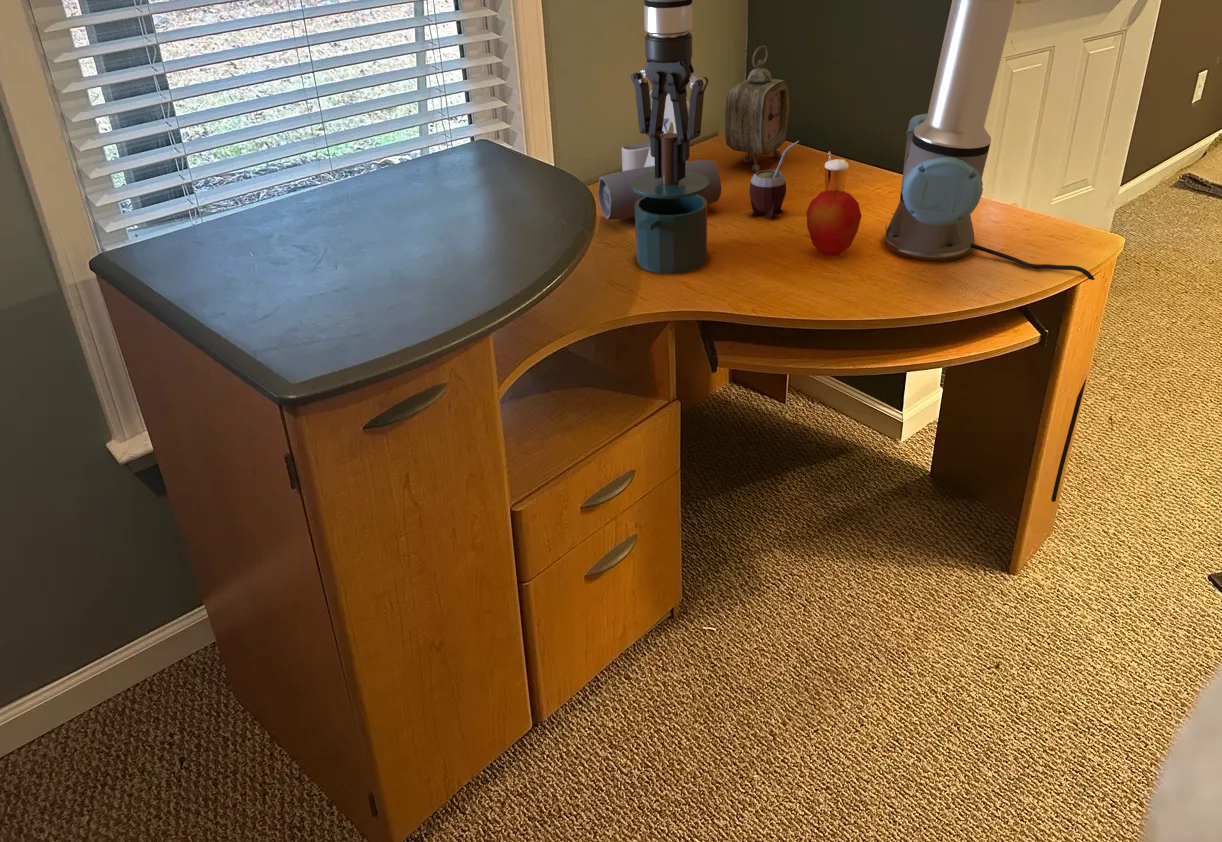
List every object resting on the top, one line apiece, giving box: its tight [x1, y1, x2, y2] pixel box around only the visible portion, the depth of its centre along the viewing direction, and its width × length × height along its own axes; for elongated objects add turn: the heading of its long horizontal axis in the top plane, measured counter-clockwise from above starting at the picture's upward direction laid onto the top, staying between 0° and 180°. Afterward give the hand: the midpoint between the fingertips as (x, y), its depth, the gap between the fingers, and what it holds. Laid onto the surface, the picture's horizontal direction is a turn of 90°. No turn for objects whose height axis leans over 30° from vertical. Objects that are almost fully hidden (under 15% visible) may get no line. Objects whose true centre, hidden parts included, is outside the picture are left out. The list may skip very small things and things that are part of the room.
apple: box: [805, 189, 862, 257], centre depth 172 cm, size 9×9×12 cm
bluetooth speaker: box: [597, 159, 722, 220], centre depth 192 cm, size 23×9×10 cm, turn 108°
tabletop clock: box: [724, 45, 791, 173], centre depth 213 cm, size 14×9×25 cm, turn 147°
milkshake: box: [824, 150, 850, 191], centre depth 193 cm, size 5×5×10 cm
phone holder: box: [621, 89, 690, 172], centre depth 207 cm, size 17×10×18 cm, turn 23°
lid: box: [631, 132, 709, 199], centre depth 167 cm, size 13×13×9 cm
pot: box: [634, 193, 708, 275], centre depth 173 cm, size 12×18×10 cm
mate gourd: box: [749, 140, 800, 220], centre depth 189 cm, size 8×8×15 cm
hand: (670, 177), depth 168 cm, fingers closed on lid, 3 cm apart
